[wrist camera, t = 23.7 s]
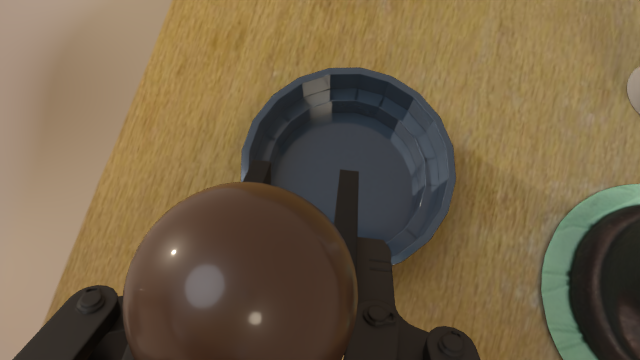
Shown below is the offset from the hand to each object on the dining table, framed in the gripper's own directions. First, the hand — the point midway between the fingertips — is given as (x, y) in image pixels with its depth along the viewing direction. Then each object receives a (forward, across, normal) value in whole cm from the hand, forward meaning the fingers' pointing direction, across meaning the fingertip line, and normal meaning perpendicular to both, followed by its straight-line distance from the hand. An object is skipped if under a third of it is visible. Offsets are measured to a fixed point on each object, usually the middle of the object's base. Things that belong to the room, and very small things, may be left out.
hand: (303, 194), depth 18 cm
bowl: (+18, +2, -10) cm, 21 cm away
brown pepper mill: (+2, 0, -7) cm, 7 cm away
